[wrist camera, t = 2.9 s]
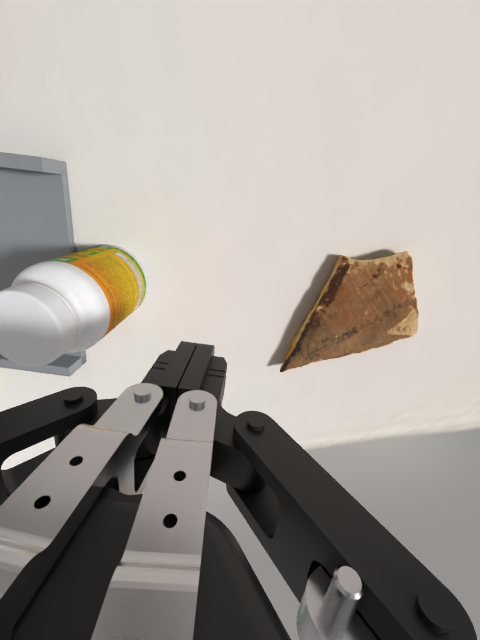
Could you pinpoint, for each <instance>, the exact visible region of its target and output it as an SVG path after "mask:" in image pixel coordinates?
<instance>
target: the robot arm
mask: <svg viewBox="0 0 480 640" xmlns="http://www.w3.org/2000/svg"><path fill="white" fill-rule="evenodd" d="M226 370H227V363H226V361H225V359H224V358H223V357H216V356H214V345H207V344H199V343H198V344H197V343H191V342H184V341H181V342H180V344H179V346H178V348H177V349H176V351H171V350H168V351H166V352H164V353H163V354H161V355H160V356H159V357H158V359H157V360H156V362H155V363H154V364H153V366H152V368H151V369H150V370H149V372H148V373H147V375H146V376H145V378H144V379H143V381H142V382H141V383H140V384H135V385H132V386H130V387H128V388H127V389H126V390H125V391H124V392H123V393H122V394H121V395H120V396H119V397H118V398H115V399H103V400H97V394H96V392H95V391H94V390H93V389H91V388H87V387H73V388H69V389H65V390H62V391H60V392H57V393H54V394H51V395H48V396H45V397H42V398H39V399H36V400H34V401H31V402H28V403H25V404H22V405H19V406H16V407H13V408H10V409H7V410H5V411H2V412H0V640H291V639H290V637H289V635H288V633H287V632H286V629H285V628H284V626H283V624H282V622H281V620H280V619H279V617H278V615H277V613H276V611H275V609H274V608H273V606H272V604H271V602H270V600H269V599H268V597H267V595H266V593H265V592H264V589H263V588H262V586H261V584H260V582H259V580H258V578H257V577H256V575H255V573H254V571H253V570H252V567H251V566H250V564H249V562H248V560H247V558H246V556H245V555H244V553H243V551H242V549H241V548H240V546H239V544H238V542H237V540H236V538H235V537H234V536H233V534H232V533H231V531H230V530H229V529H228V528H227V527H226V526H225V525H224V524H223V523H222V522H221V521H220V520H218V519H217V518H216V517H215V516H213V515H212V514H210V513H208V512H207V511H206V506H207V497H208V487H209V477H210V476H212V477H214V478H216V479H218V480H220V481H222V482H224V483H226V488H227V491H228V494H229V495H230V497H231V498H232V500H233V501H234V503H235V504H236V506H237V507H238V509H239V511H240V512H241V514H242V515H243V517H244V518H245V519H246V521H247V523H248V524H249V526H250V527H251V529H252V530H253V532H254V534H255V535H256V536H257V538H258V539H259V541H260V543H261V544H262V546H263V547H264V549H265V550H266V552H267V553H268V555H269V556H270V558H271V560H272V561H273V563H274V564H275V566H276V567H277V568H278V570H279V572H280V573H281V575H282V576H283V578H284V579H285V581H286V582H287V584H288V585H289V587H290V589H291V590H292V592H293V593H294V595H295V596H296V597H297V599H298V601H299V602H300V606H299V609H298V613H297V631H298V636H299V639H300V640H477V637H476V633H475V630H474V627H473V624H472V622H471V620H470V618H469V616H468V614H467V613H466V611H465V609H464V608H463V606H462V605H461V603H460V602H459V601H458V600H457V598H456V597H455V596H454V595H453V594H452V593H451V592H450V591H449V589H447V588H446V587H445V586H444V585H443V584H442V583H441V582H440V581H439V580H438V579H437V578H436V577H435V576H434V575H433V574H432V573H431V572H430V571H429V570H428V569H427V568H426V567H425V566H424V565H423V564H422V563H421V562H420V561H419V560H418V559H416V558H415V557H414V556H413V555H412V554H411V553H410V552H409V551H408V550H407V549H406V548H405V547H404V546H403V545H402V544H401V543H400V542H399V541H398V540H397V539H396V538H395V537H394V536H393V535H392V534H391V533H390V532H389V531H388V530H387V529H385V528H384V527H383V526H382V525H381V524H380V523H379V522H378V521H377V520H376V519H375V518H374V517H373V516H372V515H371V514H370V513H369V512H368V511H367V510H366V509H365V508H364V507H363V506H362V505H361V504H360V503H359V502H358V501H357V500H355V499H354V498H353V497H352V496H351V495H350V494H349V493H348V492H347V491H346V490H345V489H344V488H343V487H342V486H341V485H340V484H339V483H338V482H337V481H336V480H335V479H334V478H333V477H332V476H331V475H330V474H329V473H328V472H326V471H325V470H324V469H323V468H322V467H321V466H320V465H319V464H318V463H317V462H316V461H315V460H314V459H313V458H312V457H311V456H310V455H309V454H308V453H307V452H306V451H305V450H304V449H303V448H302V447H301V446H300V445H299V444H298V443H297V442H296V441H295V440H293V439H292V438H291V437H290V436H289V435H288V434H287V433H286V432H285V431H284V430H283V429H282V428H281V427H280V426H279V425H278V424H277V423H276V422H275V421H274V420H273V419H272V418H271V417H269V416H268V415H266V414H264V413H261V412H258V411H246V412H243V413H241V414H239V415H238V416H237V417H236V416H234V415H231V414H229V413H228V412H226V411H225V410H224V409H223V408H222V406H221V405H222V400H223V395H224V388H225V379H226ZM53 436H54V439H55V445H56V448H53V449H51V450H49V451H47V452H45V453H43V454H41V455H38V456H36V457H34V458H32V459H30V460H28V461H26V462H23V463H21V464H19V465H17V466H15V467H13V468H10V469H7V470H1V466H2V464H3V462H4V461H5V460H6V459H7V458H8V457H9V456H11V455H12V454H14V453H16V452H19V451H21V450H23V449H26V448H28V447H30V446H32V445H35V444H37V443H39V442H42V441H44V440H46V439H48V438H51V437H53ZM143 492H144V493H143Z"/></svg>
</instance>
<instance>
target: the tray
mask: <svg viewBox="0 0 480 640" xmlns="http://www.w3.org/2000/svg"><path fill="white" fill-rule="evenodd" d="M72 253H75V246H74V237H73V227H72V217H71V207H70V198H69V188H68V178H67V168H66V162H63V161H58V160H53V159H48V158H43V157H36V156H27V155H19V154H11V153H2V152H0V291H1V290H4V289H6V288H9V287H11V286H12V283H13V281H14V280H15V278H16V277H17V276H18V275H19V274H20V273H21V272H22V271H23V270H24V269H26V268H28V267H30V266H32V265H35V264H37V263H40V262H44V261H47V260H51V259H55V258H58V257H62V256H65V255H69V254H72ZM85 362H86V354H85V350H83V351H79V352H74V353H64V354H63V355H61V356H60V357H58V358H57V359H56V360H54V361H53V362H51V363H49V364H47V365H43V366H38V367H30V366H24V365H20V364H17V363H15V362H13V361H11V360H9V359H7V358H5V357H4V356H2V355H1V354H0V367H3V368H11V369H18V370H25V371H33V372H40V373H47V374H55V375H62V376H69V377H70V376H71V375H72V374H73V373H74V372H75V371H76V370H77V369H79V368H80V367H81V366H82V365H83V364H84V363H85Z"/></svg>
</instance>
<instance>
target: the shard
mask: <svg viewBox="0 0 480 640" xmlns="http://www.w3.org/2000/svg"><path fill="white" fill-rule="evenodd" d="M412 273H413V261H412V257H411V256H410V254H409V252H407V251H405V252H402V253H397V254H394V255H391V256H387V257H381V258H377V259H373V260H358V259H355V258H350V257H347V256H342V255H340V257H339V259H338V261H337V263H336V265H335V267H334V269H333V272H332V274H331V276H330V278H329V280H328V282H327V283H326V285H325V286H324V287H323V289H322V292H321V294H320V297H319V300H318V301H317V303H316V304H315V306H314V307H313V309H312V310H311V311H310V313H309V314H308V316H307V318H306V320H305V321H304V323H303V325H302V326H301V328H300V329H299V332H298V333H297V334H296V336H295V337H294V339H293V341H292V343H291V345H290V349H289V351H288V353H287V355H286V358H285V361H284V362H283V364H282V366H281V369H280V372H283V371H286V370H289V369H292V368H296V367H302V366H304V365H307V364H309V363H312V362H317V361H322V360H327V359H331V358H339V357H343V356H346V355H350V354H353V353H360V352H364V351H367V350H369V349H373V348H379V347H381V346H384V345H388V344H391V343H393V342H394V341H396V340H400V339H404V338H408V337H411V336H413V335H414V334H415V333H416V332H417V329H418V308H417V300H416V297H415V289H414V282H413V274H412Z"/></svg>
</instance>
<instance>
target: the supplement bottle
mask: <svg viewBox="0 0 480 640" xmlns="http://www.w3.org/2000/svg"><path fill="white" fill-rule="evenodd" d="M147 290H148V280H147V276H146V273H145V270H144V268H143V266H142V265H141V263H140V262H139V261H138V259H137V258H136V257H135V256H134V255H132V254H131V253H130V252H128V251H127V250H125V249H123V248H120V247H117V246H113V245H102V246H97V247H93V248H90V249H86V250H83V251H79V252H76V253H72V254H69V255H65V256H62V257H58V258H55V259H51V260H47V261H44V262H40V263H37V264H35V265H32V266H30V267H28V268H26V269H24V270H23V271H22V272H21V273H20V274H19V275H18V276H17V277H16V278H15V280H14V281H13V283H12V286H11V287H9V288H6V289H4V290H1V291H0V354H1V355H2V356H4V357H5V358H7V359H9V360H11V361H13V362H15V363H17V364H20V365H24V366H30V367H38V366H43V365H47V364H49V363H51V362H53V361H54V360H56V359H57V358H58V357H60V356H61V355H63V354H64V353H74V352H79V351H83V350H86V349H88V348H90V347H91V346H93V345H94V344H96V343H97V342H98V341H99V340H101V339H102V338H103V337H104V336H105V335H107V334H108V333H109V332H110V331H111V330H112V329H113V328H115V327H116V326H117V325H118V324H119V323H120V322H122V321H123V320H124V319H125V318H126V317H127V316H129V315H130V314H131V313H132V312H133V311H135V310H136V309H137V308H138V307H139V306H140V305H141V303H142V302H143V301H144V299H145V297H146V294H147Z"/></svg>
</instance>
